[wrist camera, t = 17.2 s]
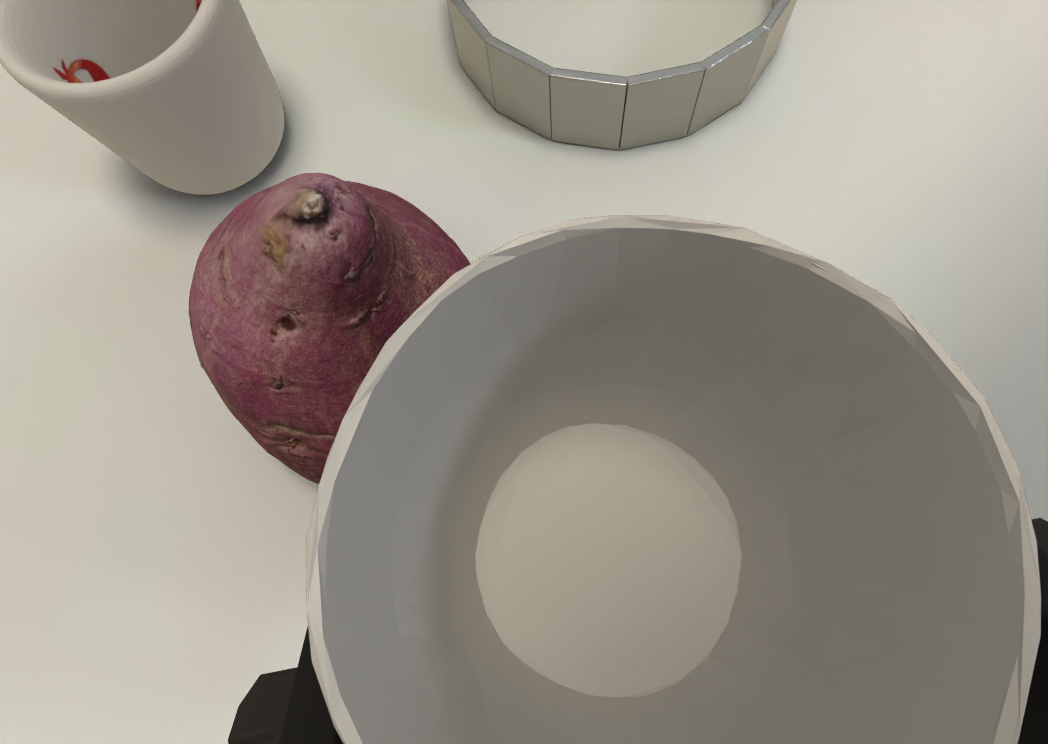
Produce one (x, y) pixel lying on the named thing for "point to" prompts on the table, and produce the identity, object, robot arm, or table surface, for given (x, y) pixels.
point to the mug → (669, 510)
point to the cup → (153, 83)
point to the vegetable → (309, 304)
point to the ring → (613, 86)
